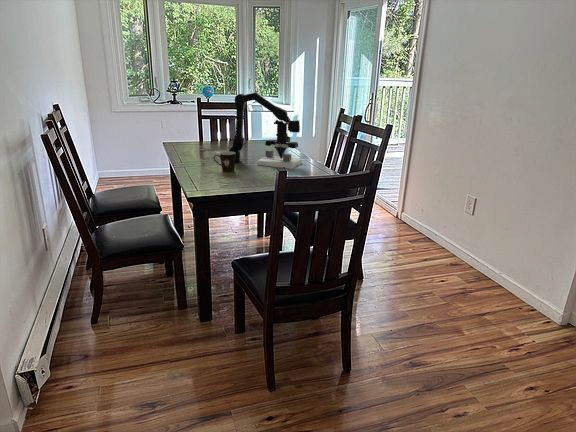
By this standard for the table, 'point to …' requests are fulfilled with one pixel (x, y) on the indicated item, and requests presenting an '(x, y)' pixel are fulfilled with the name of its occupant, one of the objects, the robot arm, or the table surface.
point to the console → (279, 162)
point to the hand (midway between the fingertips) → (281, 158)
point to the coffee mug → (227, 161)
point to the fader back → (269, 153)
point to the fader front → (287, 157)
